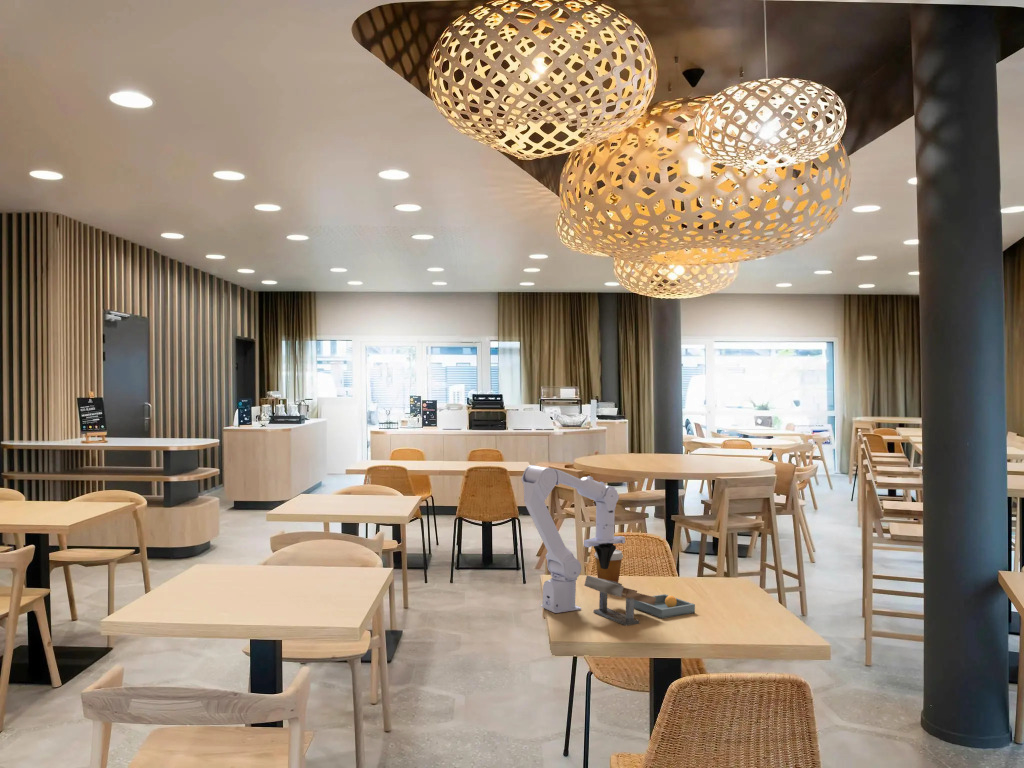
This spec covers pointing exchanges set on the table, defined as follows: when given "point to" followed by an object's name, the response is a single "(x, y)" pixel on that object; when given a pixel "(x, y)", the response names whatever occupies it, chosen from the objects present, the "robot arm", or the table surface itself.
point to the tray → (665, 607)
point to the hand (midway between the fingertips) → (604, 568)
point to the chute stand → (615, 615)
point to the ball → (670, 601)
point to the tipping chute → (617, 589)
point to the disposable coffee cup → (610, 567)
